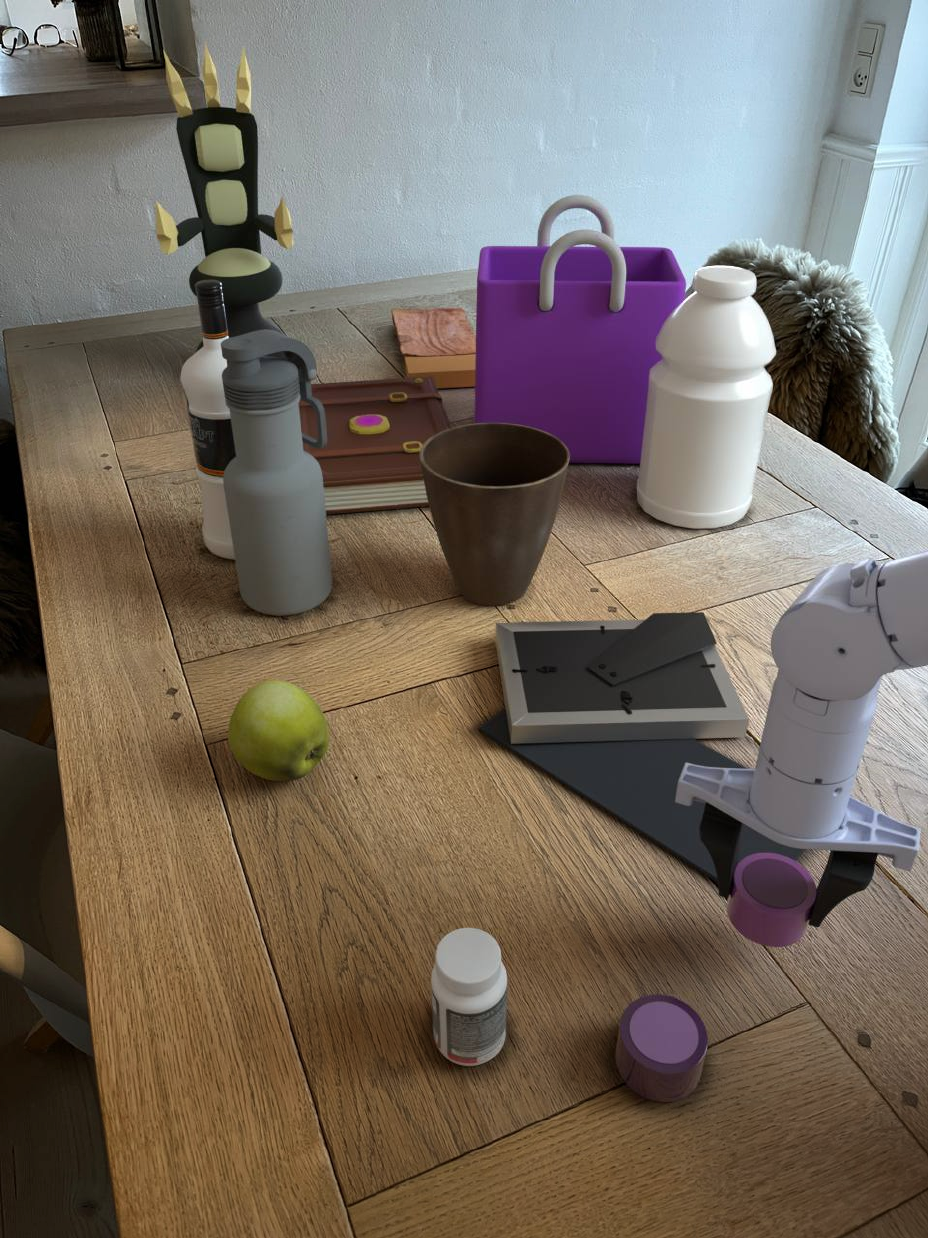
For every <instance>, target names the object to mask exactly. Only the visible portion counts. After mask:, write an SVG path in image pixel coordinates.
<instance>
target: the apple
mask: <svg viewBox="0 0 928 1238" xmlns="http://www.w3.org/2000/svg"><path fill="white" fill-rule="evenodd" d="M227 729H228V730H227V739H228V741H227V742H228V745H229V747H230V750H231V752H232V753H233V756H234V757H235V758H236V760H237V761H238V762H239V763H240V764H241V766H242V767H243V768H245V769H246V771H248V772H250V773H251V774H253V775H255V776H257V777H259V778H262V779H265V780H268V781H276V782H289V781H294V780H295V781H296V780H300V779H302V778H304V777H306V776H307V775H308V774H309V773H310V772H311V771H312V770H313V769H314V768H315V767H316V766H317V765H318V763H319V762H320V761H321V760H322V758H324V757H325V755H326V754H327V752H328V750H329V749H328V748H329V745H330V739H331V738H330V737H331V736H330V733H331V732H330V727H329V724H328V720H327V718H326V716H325V714H324V712H323V711H322V709H321V707H320V706H319V704H318V703H317V701H316V700H315V699H314V698H313V697H312V696H311V694H309V693H308V692H306V690H304V689H303V688H301V687H299V686H298V685H296V684H293V683H290V682H288V681H285V680H280V679H269V680H265V681H262V682H259V683H257V684H255V685H254V686H252V687H250V688H249V689H248V690H247V691H246V692H244V693H243V695H242V696H240V697H239V700H238V701H237V702H236V704H235V706H234V709H233V711H232V713H231V716H230V718H229V723H228V728H227Z"/></svg>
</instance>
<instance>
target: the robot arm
mask: <svg viewBox="0 0 928 1238" xmlns="http://www.w3.org/2000/svg"><path fill="white" fill-rule="evenodd" d="M770 651H771V656H772V659H773V661H774V665H776V667H777V673H776V677H775V679H774V680H773V685H772V689H771V693H770V699H769V703H768V706H767V711H766V717H765V721H764V726H763V730H762V734H761V740H760V744H759V749H758V753H757V758H756V763H755V767H754V768H747V769H737V768H715V767H705V766H699V765H694V764H690V763H685V765H684V767H683V770H682V773H681V775H680V778H679V780H678V786H677V792H676V798H675V802H676V803H680V804H683V805H686V806H690V805H692V804H693V800H694V801H697V802H701V803H704V804H705V808H704V813H703V817H702V820H701V823H700V826H699V834H700V840H701V841H702V842H703V844H704V845H705V846H706V848H707V850H708V852H709V854H710V856H711V858H712V860H713V863H714V866H715V870H716V874H717V879H718V882H717V884H718V885H717V887H718V896H719V897H721V898H725V899H728V898H729V895H730V890H731V886H732V880H733V875H734V871H735V868H736V866H737V864H738V856H739V847H740V839H741V834H742V829H743V825H744V824H745V825H747V826H749V827H750V828H752V829H754V830H755V831H757V832H759V833H760V834H762V835H764V836H766V837H767V838H769V839H771V840H773V841H775V842H777V843H779V844H782V845H785V846H788V847H793V848H799V849H806V850H815V851H817V850H818V851H829V855H828V858H827V862H826V865H825V867H824V869H823V873H822V874H821V876H820V879H819V882H818V885H817V886H816V888H817V897H816V901H815V903H814V906H813V909H812V912H811V916H810V919H809V924H808V926H812V927H815V928H820V927H821V925H822V924H823V921H824V920H825V919H826V917H827V916H828V915H829V914H830V913H831V912H832V911H833V910H834V909H835V908H836V907H837V906H838V905H839V904H840V903H842V902H843V901H845V900H846V899H847V898H850V897H851V896H853V895H855V894H857V893H860V892H863V891H865V890H866V889H867V888H868V887H869V885H870V884H871V882H872V881H873V877H874V875H875V868H876V862H877V859H878V856H881V857H885V858H888V859H891V860H892V861H891V864H892V866H893V867H894V868H896V869H899V870H903V871H906V872H912V869H913V867H914V864H915V862H916V859H917V856H918V854H919V850H920V842H921V831H922V829H921V828H920V827H917V826H913V825H911V824H907V823H905V822H903V821H900V820H898V819H895V818H893V817H891V816H889V815H887V814H885V813H884V812H881V811H880V810H878V809H876V808H874V807H872V806H870V805H868V804H866V803H864V802H863V801H861V800H859V799H857V798H855V797H853V796H851V795H852V791H853V788H854V785H855V782H856V778H857V774H858V772H859V769H860V764H861V761H862V758H863V754H864V751H865V747H866V744H867V742H868V739H869V735H870V731H871V728H872V724H873V721H874V718H875V714H876V711H877V707H878V693H879V690H880V687H881V684H882V681H883V678H884V675H887V674H892V673H894V672H896V671H903V670H910V669H916V668H921V667H927V666H928V550H925V551H921V552H917V553H913V554H910V555H906V556H903V557H899V558H896V559H895V558H894V559H892V560H888V561H884V562H881V563H877V561H876V559H875V558H873V557H870V558H866V559H862V560H859V561H857V562H855V563H851V562H850V563H849V562H848V563H847V562H845V563H838V564H835V565H832V566H828V567H827V568H825V569H823V570H821V571H820V572H819V573H818V574H816V575H815V577H814V578H813V579H812V580H811V581H810V582H809V583H808V585H807V586H806V587H805V588H804V589H803V591H802V592H801V593H800V594H799V595H798V596H797V598H795V600H794V601H793V602H792V603H791V604H790V605H789V607H787V609H786V610H785V611H784V612H783V614H781V616H780V617H779V619H778V622H777V623H776V625H775V626H774V628H773V630H772V633H771V637H770Z"/></svg>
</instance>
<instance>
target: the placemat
mask: <svg viewBox="0 0 928 1238" xmlns="http://www.w3.org/2000/svg"><path fill="white" fill-rule="evenodd" d="M478 731H479V732H481V733H482V734H483V735H485V736H487V737H488V738H489V739H492V740H493V741H495V742H497V743H498V744H500V745H501V746H502V747H504V748H505V749H508V750H509V751H510V752H512V753H514V754H515V755H517V756H518V757H520V758H522V759H523V760H524V761H526V762H527V763H529V764H531V765H532V766H534V767H536V768H537V769H539V770H540V771H542V772H543V773H545V774H546V775H548V776H550V777H551V778H553V779H555V780H556V781H558V782H559V783H561V784H562V785H564V786H565V787H567V788H568V789H570V790H572V791H573V792H575V793H576V794H578V795H580V796H581V797H583V798H584V799H586V800H588V801H589V802H591V803H592V804H594V805H595V806H597V807H598V808H599V809H602V810H603V811H605V812H606V813H608V814H609V815H611V816H612V817H614V818H615V819H617V820H619V821H620V822H622V823H624V824H625V825H627V826H628V827H630V828H631V829H633V830H635V831H636V832H638V833H639V834H641V835H642V836H644V837H645V838H647V839H649V840H650V841H652V842H654V843H655V844H656V845H658V846H660V847H661V848H663V849H665V850H666V851H667V852H669V853H671V854H672V855H674V856H675V857H677V858H679V859H680V860H682V861H683V862H684V863H686V864H688V865H690V866H691V867H693V868H694V869H696V870H697V871H698V872H701V873H702V874H704V875H705V876H707V877H708V878H709V879H712V880H713V881H715V882H716V883H718V879H717V874H716V870H715V866H714V863H713V860H712V858H711V856H710V854H709V852H708V850H707V848H706V846H705V845H704V844H703V842H702V841H701V840H700V834H699V826H700V823H701V820H702V817H703V813H704V808H705V804H704V803H701V802H697V801H694V800H693V804H692V805H690V806H686V805H683V804H680V803H676V802H675V798H676V792H677V786H678V780H679V778H680V775H681V773H682V770H683V767H684V765H685V763H690V764H694V765H699V766H705V767H715V768H737V769H748V768H747V767H745V766H744V765H742V764H741V763H738V762H736V761H735V760H732V759H731V758H729V757H727V756H725V754H724V755H723V753H720V752H718V751H716V750H714V749H712V748H711V747H709V746H707V745H705V743H702V742H700V741H698V740H696V739H662V740H627V741H592V742H557V743H522V744H511V740H510V733H509V727H508V720H507V714H506V708H504V709H503V710H501V711H500V712H499V713H497V714H495V715H494V716H493V717H491V718H490V719H489V720H487V721H486V722H485V723H483V724H481V725H479V727H478ZM806 851H807V849H799V848H793V847H788V846H785V845H782V844H779V843H777V842H775V841H773V840H771V839H769V838H767V837H766V836H764V835H762V834H760V833H759V832H757V831H755V830H754V829H752V828H750V827H749V826H747V825H745V824H744V825H743V829H742V834H741V839H740V847H739V856H738V863H739V862H740V861H741V860H742V859H744V858H746V857H747V856H750V855H753V854H757V853H774V854H779V855H782V856H786V857H788V858H790V859H792V860H794V861H796V862H797V861H798V859H799V858H800V857H802V855H803V854H804V853H805V852H806ZM737 865H738V864H737Z"/></svg>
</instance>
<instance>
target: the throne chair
mask: <svg viewBox="0 0 928 1238" xmlns="http://www.w3.org/2000/svg"><path fill="white" fill-rule="evenodd" d="M162 51H163V55H164V60H165V77H166V78H165V80H166V82H167V87H168V89H169V92H170V96H171V98H172V102H173V104H174V107H175V109H176V111H177V114H178V117H177V118H176V126H175V129H176V135H177V139H178V143H179V148H180V151H181V154H182V159H183V162H184V167H185V170H186V173H187V177H188V181H189V186H190V189H191V193H192V198H193V202H194V205H195V209H196V214H197V216H196V217H188V218H186V219H184V220H181V222H179V223H178V224H176V223H175V220H174V217H173V216H172V215H171V214H170V213H169V212H168V211H167V210H166V209H165V208H163V207H162V205H161V204H160V203H159V202H158V201H157V200H155V221H156V223H155V224H156V225H155V226H156V238H157V241H158V243H159V245H160V248H161V252H162V255H163V256H169V255H171V254H173V253H174V252H177V250H178V248H180V247H182V246H185V245H186V244H187V243H188V242H190V241H192V239H194V238H195V237H196V236H198V235H199V234H200V233H201V234H200V235H201V240H202V246H203V251H204V258H203V259H202V260H201V261H200V262H199V263H198V264H197V265H195V267H194V268H193V269H192V270H191V271H190V274H189V278H188V284H189V288H190V291H191V292H192V293H193V296H195V297H196V298H197V294H196V288H195V284H196V283H197V282H199V281H202V280H217V281H219V282H221V284H222V286H221V287H222V293H223V300H224V303H223V304H224V307H225V314H226V322H227V329H228V337H229V338H231V337H236V336H240V335H243V334H246V333H250V332H254V331H258V330H264V329H268V330H274V331H277V332H279V333H282V334H284V335H286V334H285V333H284V332H282V331H281V330H280V329H279V328H277V327H276V326H275V325H273V324H271V323H270V322H269V321H268V320H267V319H265V318H264V316H263V315H262V313H261V311H260V306H259V304H260V303H263V302H265V301H268V300H270V299H271V298H273V297H274V296H276V295H277V294H278V293H279V292H280V290H281V288H282V286H283V274H282V271H281V269H280V268H279V266H278V265H277V264H276V263H275V262H274V261H271V260H270V259H268V258H266V257H265V256H264V255H263V254H262V243H261V233H263V234H264V235H266V236H267V237H269V238H270V239H272V240H273V241H277V243H278V244H279V246H280V247H282V248H284V249H286V250H291V249H293V247H294V231H293V228H292V219H291V213H290V210H289V209H288V207H287V204H286V202H285V199H284V196H283V195H282V196H281V198H280V201H279V204H278V206H277V207H276V209H275V211H274V212H273V215H274V216H272V215H269V214H265V213H263V214H262V213H260V214H259V134H258V132H259V131H258V123H257V120H256V118H255V115H254V114H253V113H252V111H251V108H252V107H251V106H252V79H251V77H252V76H251V75H252V74H251V71H250V68H249V63H248V60H247V57H246V51H245V45H243V47H242V51H241V59H240V61H239V65H238V68H237V71H236V88H235V91H236V94H235V104H236V105H235V107H228V106H227V107H226V106H221V97H220V89H219V82H218V74H217V68H216V66H215V64H214V62H213V59H212V57H211V54H210V51H209V48H208V44H207V41H206V40H205V41H204V57H203V64H202V78H203V85H204V86H203V87H204V94H205V95H204V96H205V100H206V101H205V102H206V107H202V108H198V109H193V108H192V106H191V103H190V100H189V97H188V94H187V91H186V88H185V86H184V84H183V81H182V78H181V75H180V74H179V73H178V71H177V70H176V69H175V67H174V65H173V64H172V63H171V61H170V58H169V57H168V55H167V53H166V51H165V49H163V50H162ZM260 232H261V233H260ZM203 346H204V344H203V339H202V340H201V342H200V343H199V344H198V346H197V347H196V350H195V352H194V354H195V353H196V352H197V351H199V350H200V349H201V348H202V347H203ZM264 356H273V357H279V358H282V359H285V360H286V356H285V354H284V352H283V351H280V352H275V353H271V354H268V355H264Z"/></svg>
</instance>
